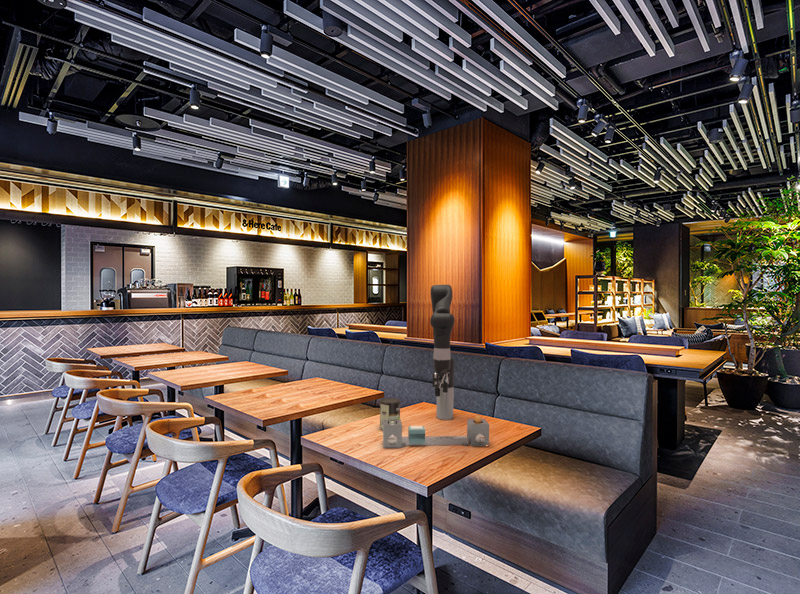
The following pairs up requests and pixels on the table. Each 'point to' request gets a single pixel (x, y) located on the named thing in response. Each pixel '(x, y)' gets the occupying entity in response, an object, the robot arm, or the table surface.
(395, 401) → the coffee can
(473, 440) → the cabinet
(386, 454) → the table surface
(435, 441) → the rail
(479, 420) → the button
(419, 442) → the carriage
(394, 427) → the cabinet
